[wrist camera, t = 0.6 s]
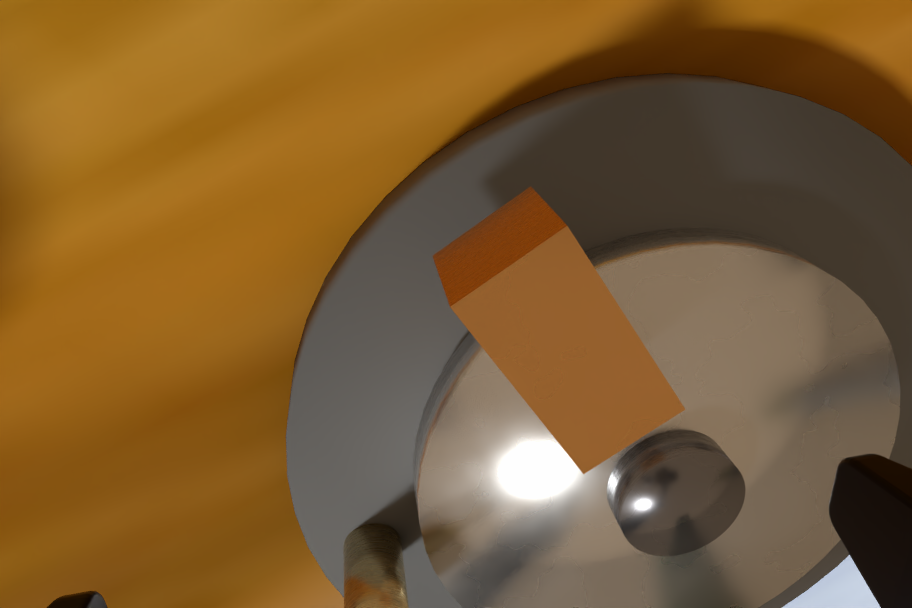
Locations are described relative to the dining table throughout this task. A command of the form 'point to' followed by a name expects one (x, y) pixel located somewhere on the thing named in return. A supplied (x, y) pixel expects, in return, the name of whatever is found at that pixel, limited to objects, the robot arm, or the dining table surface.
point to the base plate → (592, 223)
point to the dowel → (374, 568)
